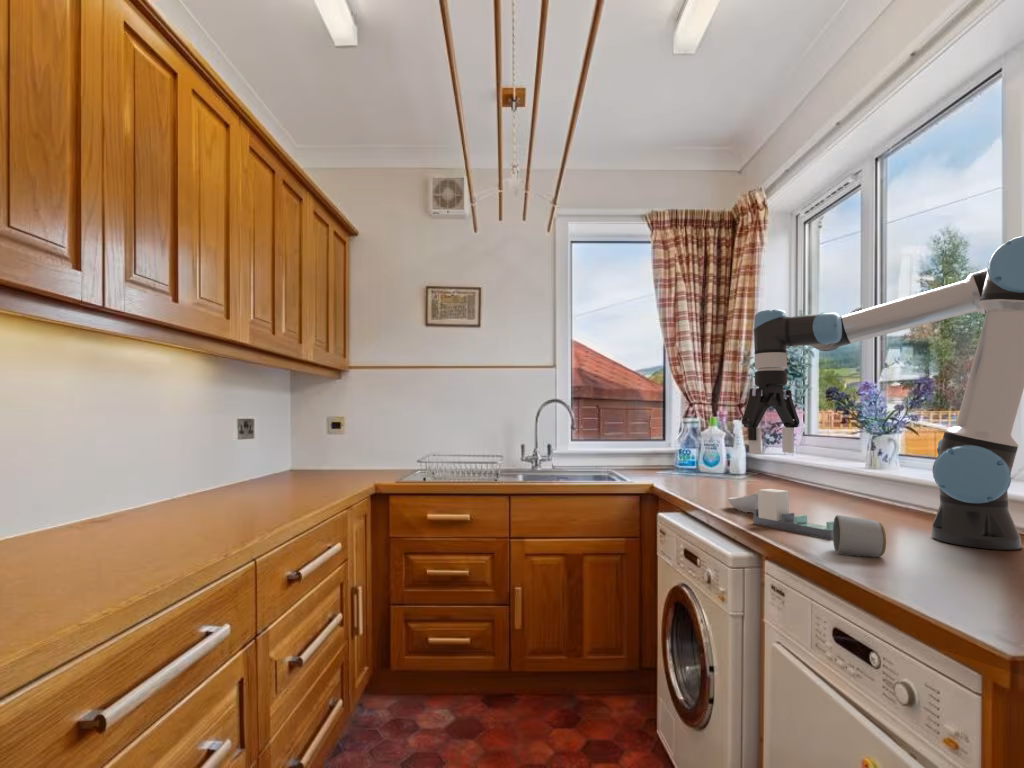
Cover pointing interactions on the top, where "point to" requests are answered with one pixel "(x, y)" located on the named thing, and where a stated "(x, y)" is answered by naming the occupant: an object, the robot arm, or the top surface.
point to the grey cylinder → (858, 536)
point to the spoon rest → (745, 502)
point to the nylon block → (772, 504)
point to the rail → (796, 525)
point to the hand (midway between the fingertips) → (772, 453)
